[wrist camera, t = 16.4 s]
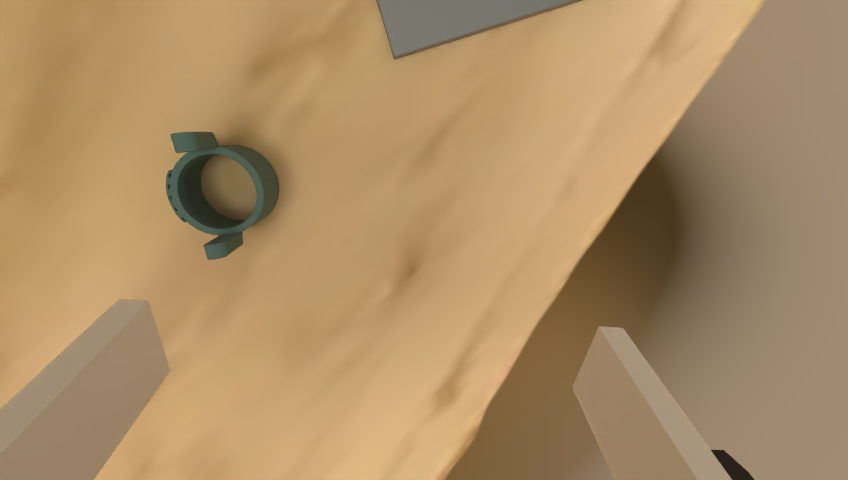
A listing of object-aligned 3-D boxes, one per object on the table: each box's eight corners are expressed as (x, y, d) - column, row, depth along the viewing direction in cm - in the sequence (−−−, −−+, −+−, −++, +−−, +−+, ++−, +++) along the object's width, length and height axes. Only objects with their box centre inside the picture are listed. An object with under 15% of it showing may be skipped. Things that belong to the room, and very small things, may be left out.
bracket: (225, 124, 38) (177, 121, 29) (298, 186, 40) (273, 200, 32) (173, 189, 39) (112, 205, 31) (247, 246, 41) (209, 275, 33)
